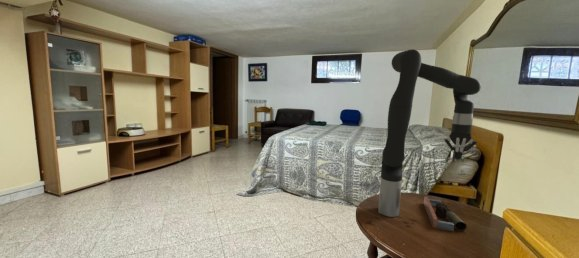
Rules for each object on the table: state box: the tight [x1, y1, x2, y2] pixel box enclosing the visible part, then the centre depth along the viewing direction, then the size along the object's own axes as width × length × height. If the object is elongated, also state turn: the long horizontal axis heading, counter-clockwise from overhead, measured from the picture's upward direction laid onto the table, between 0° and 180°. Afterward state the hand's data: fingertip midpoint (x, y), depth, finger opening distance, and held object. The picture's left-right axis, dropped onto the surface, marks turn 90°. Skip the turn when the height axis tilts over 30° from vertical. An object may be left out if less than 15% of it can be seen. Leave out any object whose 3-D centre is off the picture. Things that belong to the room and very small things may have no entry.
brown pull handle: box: [423, 196, 455, 232], centre depth 111 cm, size 8×24×4 cm, turn 159°
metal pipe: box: [434, 202, 467, 232], centre depth 108 cm, size 18×7×6 cm, turn 174°
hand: (457, 159), depth 111 cm, fingers closed
